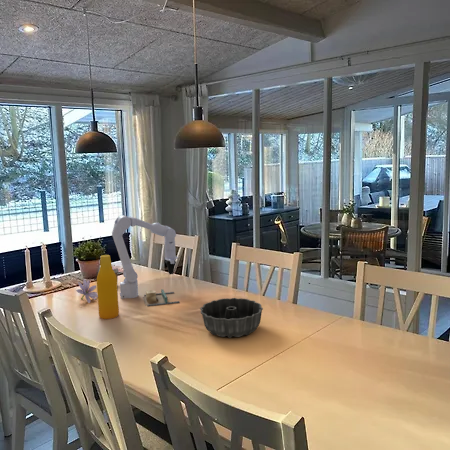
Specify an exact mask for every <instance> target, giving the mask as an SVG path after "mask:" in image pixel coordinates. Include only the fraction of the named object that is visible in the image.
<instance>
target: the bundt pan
mask: <svg viewBox="0 0 450 450" xmlns="http://www.w3.org/2000/svg"><path fill="white" fill-rule="evenodd" d="M199 308H200V309H199V310H200V314H201V315H202V320H203V321H202V322H203V324H204V328H205V329H206V330H207V331H208V332H210V333H211V334H212V335H213V336H218V337H221V338H224V337H228V339H231V338H232V337H236V338H241V337H242V336H245V335H246V336H248V335H250V333H253V332H255V331H256V330H257V329H258V327H259V325H260V324H261V319H262V313H263V310H264V308H263V307H262V304H261V303H259V302H257V301H255V300H250V299H248V298H241V297H240V298H237V297H232V298H219V299H217V300H216V299H215V300H212V301H209V302H206V303H204V304H203V305H202V306H201V307H199Z"/></svg>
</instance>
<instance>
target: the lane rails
mask: <svg viewBox="0 0 450 450" xmlns="http://www.w3.org/2000/svg"><path fill="white" fill-rule="evenodd" d="M165 294H166V295H171V294H175V292H174V291H168V292H165ZM156 295H162V293H161V292H159V293H156ZM145 296H146V294H143V297H145ZM173 304H180V300H176V301H167V302H166V303H157V304H148V305H147V307H154V306H155V307H156V306H164V305H173Z"/></svg>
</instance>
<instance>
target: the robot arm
mask: <svg viewBox="0 0 450 450" xmlns="http://www.w3.org/2000/svg"><path fill="white" fill-rule="evenodd" d="M135 226H138V227H141V228H144V229H147V230H150V232H151V234H155V235H158V236H161V237H164V260H165V261H164V262H165V265H166V266H167V271H168V272H167V273H168V275H174V274H175V273H174V271H175V266H176V265H177V261H176V260H177V259H179V257H178V256H176V239H175V238H176V237H177V233H176V230H175V229H174V228H172V227H170V226H168V225H163V224H161V223H160V222H158V221H157V222H153V223H150V222H148V221H145V220H142V219H140V218H137V217H134V216H130V215H125V214H120V215H119V216H117V218H116V219H115V221H114V224H113V227H112V228H113V229H112V231H111V236H112V238H113V241H114V244H115V247H116V250H117V253H118V257H119V259H120V260H119V261H120V263H121V265H122V268H123V270H122V271H123V272H122V276H123V277H124V279H123V281H120V282H119V289H120V290H119V296H120V299H121V300H123V299H133V298H137V297H139V287H138V285H139V284H138V277H139V276H138V273H137V272H136V271H135V269H134V266H133V265H132V261H131V259H130V256H129V253H128V249H127V246H126V244H125V240H124V238H123V235H124V234H125V232H126V231H127V230H128V229H129V228H130V227H135Z"/></svg>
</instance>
